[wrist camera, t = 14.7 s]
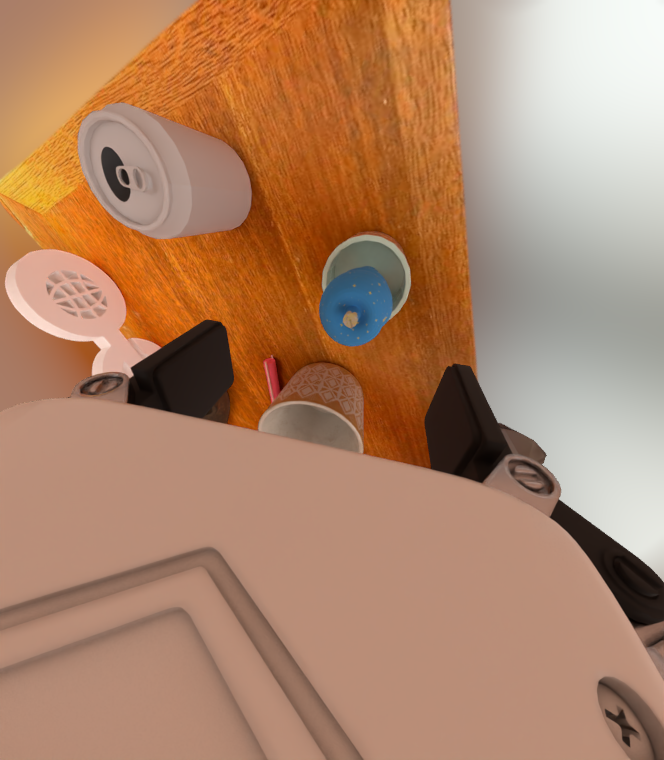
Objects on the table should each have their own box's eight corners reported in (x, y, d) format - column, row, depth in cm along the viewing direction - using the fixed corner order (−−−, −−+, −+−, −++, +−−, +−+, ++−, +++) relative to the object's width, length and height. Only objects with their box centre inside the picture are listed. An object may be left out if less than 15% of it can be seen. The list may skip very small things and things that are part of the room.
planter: (279, 404, 42) (250, 455, 33) (298, 340, 34) (267, 384, 26) (350, 433, 42) (340, 490, 34) (384, 375, 35) (382, 430, 26)
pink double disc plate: (75, 250, 33) (-28, 264, 25) (85, 244, 32) (-18, 256, 24) (180, 385, 44) (132, 426, 35) (190, 383, 43) (142, 424, 35)
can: (179, 134, 24) (39, 85, 15) (253, 143, 24) (157, 99, 14) (194, 224, 29) (93, 233, 19) (257, 234, 28) (186, 249, 18)
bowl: (336, 225, 26) (325, 229, 22) (417, 236, 25) (422, 242, 21) (328, 304, 31) (319, 319, 27) (396, 316, 30) (397, 333, 26)
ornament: (357, 306, 30) (332, 374, 18) (336, 263, 28) (292, 308, 15) (399, 285, 28) (405, 347, 15) (380, 238, 25) (370, 266, 13)
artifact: (259, 390, 39) (215, 457, 49) (253, 367, 42) (213, 435, 52) (192, 380, 33) (157, 459, 43) (191, 355, 36) (158, 434, 46)
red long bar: (301, 476, 47) (278, 471, 48) (305, 467, 49) (282, 462, 50) (284, 364, 34) (252, 361, 35) (290, 356, 36) (260, 354, 37)
